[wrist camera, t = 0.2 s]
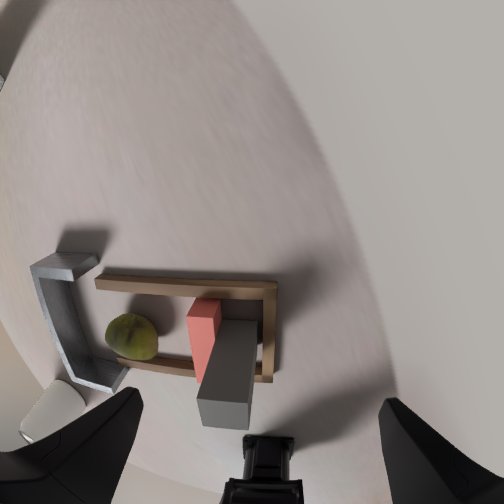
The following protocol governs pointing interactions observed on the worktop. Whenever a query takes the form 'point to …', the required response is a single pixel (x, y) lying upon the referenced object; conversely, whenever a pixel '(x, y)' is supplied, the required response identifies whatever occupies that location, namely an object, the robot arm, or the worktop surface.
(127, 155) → the worktop surface
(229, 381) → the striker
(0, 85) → the tea box
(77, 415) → the can
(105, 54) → the worktop surface
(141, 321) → the lime
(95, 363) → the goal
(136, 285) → the brown wooden flat frame
